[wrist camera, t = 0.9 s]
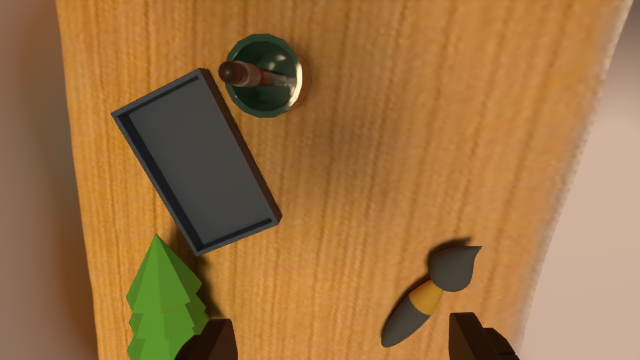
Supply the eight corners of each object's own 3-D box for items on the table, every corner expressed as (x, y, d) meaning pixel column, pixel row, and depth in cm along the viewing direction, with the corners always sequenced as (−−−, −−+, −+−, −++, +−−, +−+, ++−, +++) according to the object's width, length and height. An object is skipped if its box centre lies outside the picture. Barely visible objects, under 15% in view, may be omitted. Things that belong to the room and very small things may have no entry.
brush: (270, 75, 37) (207, 64, 20) (283, 69, 36) (231, 52, 19) (276, 89, 37) (220, 91, 20) (289, 83, 37) (244, 79, 20)
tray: (124, 111, 40) (110, 113, 37) (208, 69, 38) (198, 67, 35) (203, 247, 44) (195, 257, 42) (282, 216, 42) (278, 224, 40)
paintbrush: (404, 349, 47) (411, 378, 42) (374, 335, 47) (377, 364, 42) (480, 239, 41) (498, 258, 37) (446, 223, 41) (459, 240, 36)
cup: (240, 63, 37) (209, 56, 29) (295, 35, 36) (281, 19, 27) (267, 120, 39) (246, 129, 30) (321, 95, 38) (315, 98, 29)
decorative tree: (133, 474, 40) (84, 267, 31) (147, 392, 50) (114, 218, 41) (227, 444, 44) (210, 250, 34) (223, 372, 54) (208, 208, 44)
